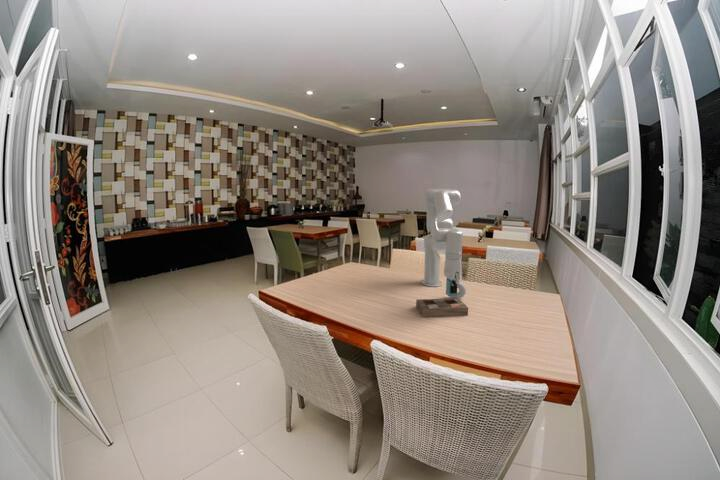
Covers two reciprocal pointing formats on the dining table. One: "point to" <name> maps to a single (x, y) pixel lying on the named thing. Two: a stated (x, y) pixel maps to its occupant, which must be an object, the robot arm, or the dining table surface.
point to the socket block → (441, 307)
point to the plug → (448, 286)
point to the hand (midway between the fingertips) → (451, 291)
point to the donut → (460, 291)
